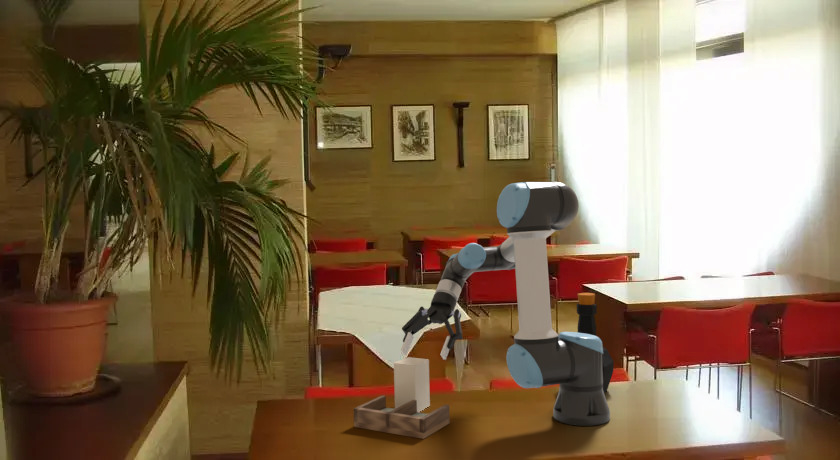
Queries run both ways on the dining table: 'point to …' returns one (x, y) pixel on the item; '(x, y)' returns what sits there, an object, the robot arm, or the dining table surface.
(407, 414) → the rack
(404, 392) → the white block
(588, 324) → the bottle
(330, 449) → the dining table surface
